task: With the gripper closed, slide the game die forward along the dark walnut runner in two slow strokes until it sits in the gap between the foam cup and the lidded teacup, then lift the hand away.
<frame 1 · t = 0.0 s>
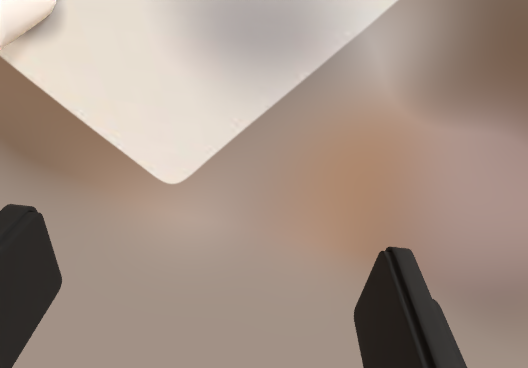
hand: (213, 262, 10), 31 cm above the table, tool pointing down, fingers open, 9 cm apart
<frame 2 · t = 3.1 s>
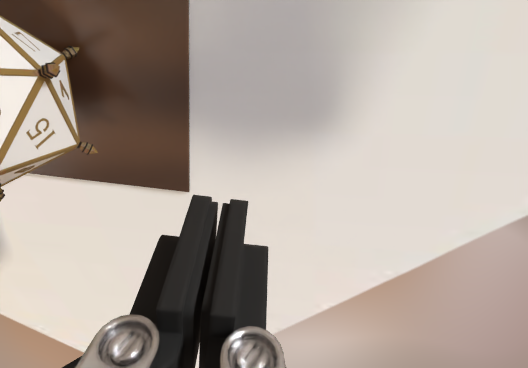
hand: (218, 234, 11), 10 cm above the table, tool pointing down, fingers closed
game die: (34, 68, 18), resting on runner
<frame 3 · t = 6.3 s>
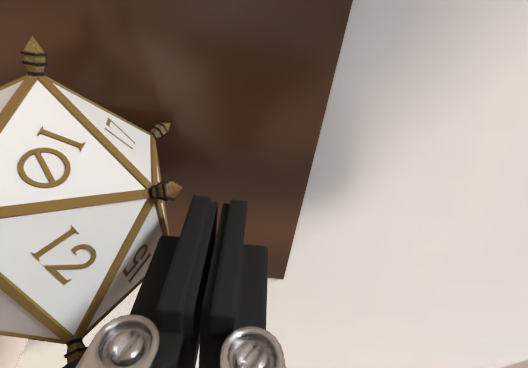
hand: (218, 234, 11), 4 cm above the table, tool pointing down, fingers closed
runner: (10, 130, 14), on the table
game die: (106, 143, 14), resting on runner, touching gripper
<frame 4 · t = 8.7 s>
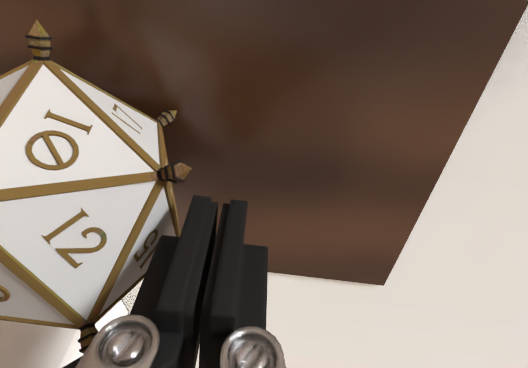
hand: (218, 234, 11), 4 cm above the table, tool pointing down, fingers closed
runner: (147, 141, 14), on the table
game die: (113, 133, 14), resting on runner, touching gripper
foam cup: (75, 304, 21), on the table
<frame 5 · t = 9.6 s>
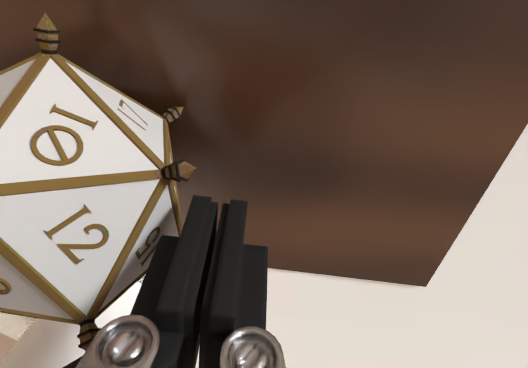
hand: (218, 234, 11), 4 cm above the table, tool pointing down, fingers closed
runner: (205, 144, 14), on the table
game die: (118, 128, 14), resting on runner, touching gripper
foam cup: (115, 305, 21), on the table
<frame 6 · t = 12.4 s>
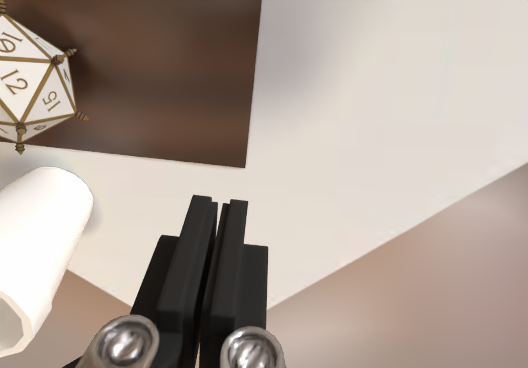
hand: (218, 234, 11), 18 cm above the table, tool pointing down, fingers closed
runner: (93, 73, 27), on the table
game die: (45, 64, 27), resting on runner
foam cup: (60, 194, 33), on the table
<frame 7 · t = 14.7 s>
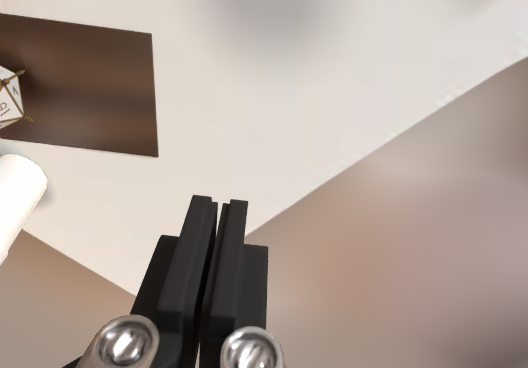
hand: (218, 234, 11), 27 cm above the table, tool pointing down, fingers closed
runner: (39, 86, 37), on the table
game die: (3, 80, 37), resting on runner
foam cup: (21, 175, 44), on the table
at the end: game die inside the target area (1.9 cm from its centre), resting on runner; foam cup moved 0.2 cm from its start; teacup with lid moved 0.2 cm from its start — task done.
